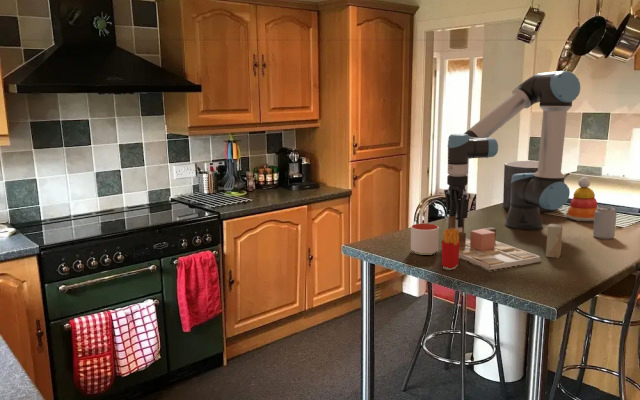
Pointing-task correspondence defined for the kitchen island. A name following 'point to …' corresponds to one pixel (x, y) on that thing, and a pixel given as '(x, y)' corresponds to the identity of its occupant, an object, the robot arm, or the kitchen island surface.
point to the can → (604, 223)
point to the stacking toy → (583, 202)
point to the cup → (424, 238)
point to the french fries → (450, 248)
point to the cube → (482, 239)
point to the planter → (517, 168)
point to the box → (554, 240)
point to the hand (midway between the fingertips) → (456, 234)
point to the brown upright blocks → (452, 225)
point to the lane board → (503, 258)
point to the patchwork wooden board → (498, 246)
